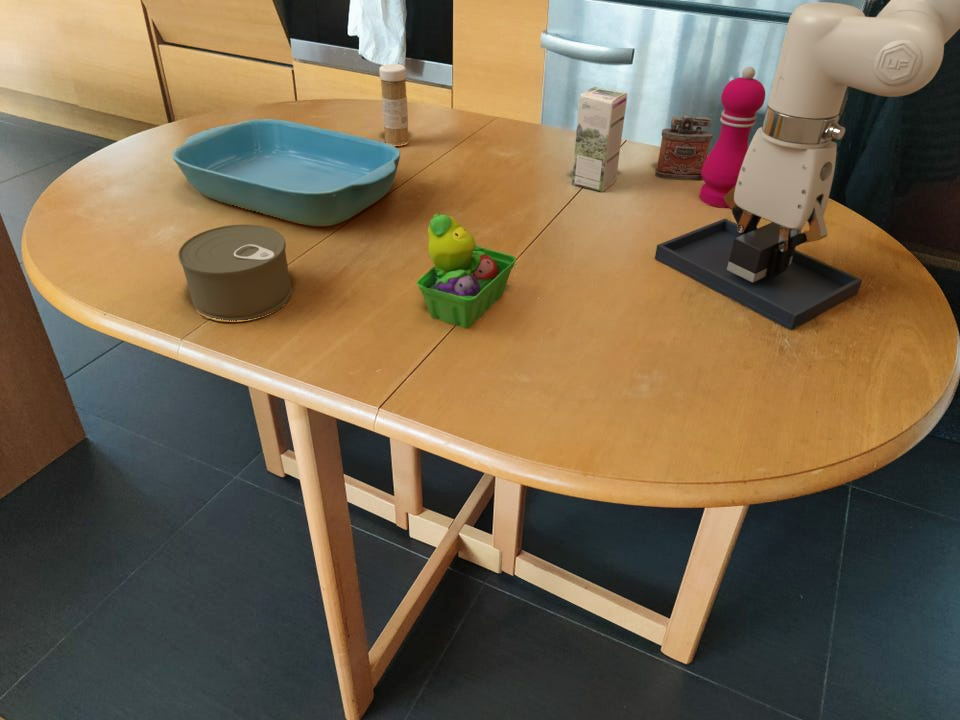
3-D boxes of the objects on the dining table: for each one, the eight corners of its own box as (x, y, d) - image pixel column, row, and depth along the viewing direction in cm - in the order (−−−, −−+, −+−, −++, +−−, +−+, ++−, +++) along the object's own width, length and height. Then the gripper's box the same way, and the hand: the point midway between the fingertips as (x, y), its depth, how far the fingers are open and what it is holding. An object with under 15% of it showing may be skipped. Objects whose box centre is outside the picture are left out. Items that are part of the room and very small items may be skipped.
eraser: (790, 264, 93) (800, 232, 90) (752, 282, 89) (761, 250, 86) (764, 252, 95) (773, 221, 92) (726, 269, 91) (734, 238, 89)
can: (234, 265, 94) (223, 217, 90) (312, 284, 90) (305, 235, 86) (169, 310, 85) (154, 259, 81) (253, 333, 81) (242, 281, 77)
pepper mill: (688, 191, 115) (714, 60, 103) (730, 189, 116) (761, 59, 104) (708, 210, 109) (738, 74, 97) (751, 207, 110) (786, 72, 98)
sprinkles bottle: (397, 137, 133) (393, 61, 125) (414, 143, 131) (411, 66, 123) (379, 143, 130) (373, 66, 122) (396, 149, 128) (391, 71, 120)
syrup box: (617, 181, 118) (629, 91, 109) (601, 193, 114) (613, 100, 105) (586, 173, 120) (595, 84, 112) (569, 185, 116) (578, 94, 108)
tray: (857, 294, 90) (863, 279, 89) (791, 330, 83) (795, 315, 82) (721, 231, 104) (724, 218, 102) (654, 258, 97) (656, 244, 95)
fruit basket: (472, 338, 81) (472, 249, 74) (406, 317, 84) (401, 230, 78) (517, 293, 89) (521, 209, 82) (455, 275, 92) (455, 193, 86)
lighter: (655, 178, 119) (665, 118, 113) (654, 170, 122) (664, 111, 116) (704, 181, 118) (717, 121, 112) (702, 173, 121) (714, 114, 115)
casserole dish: (153, 194, 111) (141, 149, 107) (255, 149, 127) (248, 109, 123) (341, 251, 97) (336, 202, 93) (430, 193, 113) (428, 149, 109)
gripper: (886, 139, 77) (834, 285, 88) (756, 100, 88) (724, 235, 99) (848, 154, 74) (799, 304, 85) (717, 111, 85) (688, 250, 95)
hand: (759, 265), depth 92 cm, fingers closed on eraser, 4 cm apart
